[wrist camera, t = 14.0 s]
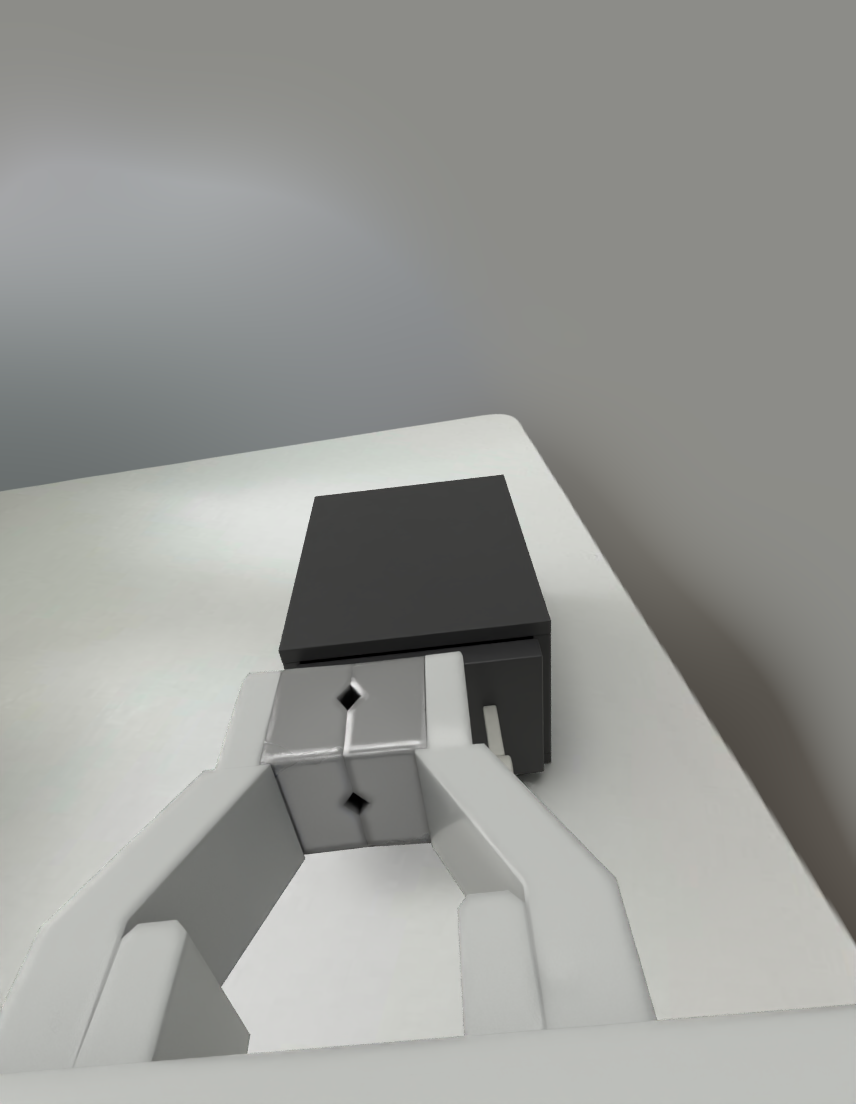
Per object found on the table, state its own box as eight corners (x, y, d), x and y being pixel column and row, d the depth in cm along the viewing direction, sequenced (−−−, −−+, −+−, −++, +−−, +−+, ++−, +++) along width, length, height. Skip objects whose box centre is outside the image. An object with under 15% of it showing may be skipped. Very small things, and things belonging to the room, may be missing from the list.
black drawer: (562, 852, 28) (564, 732, 23) (318, 876, 28) (276, 763, 24) (505, 605, 42) (499, 505, 38) (345, 623, 43) (323, 525, 38)
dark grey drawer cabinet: (551, 762, 33) (551, 620, 27) (321, 787, 33) (278, 650, 28) (509, 594, 45) (503, 474, 40) (342, 613, 45) (314, 496, 40)
